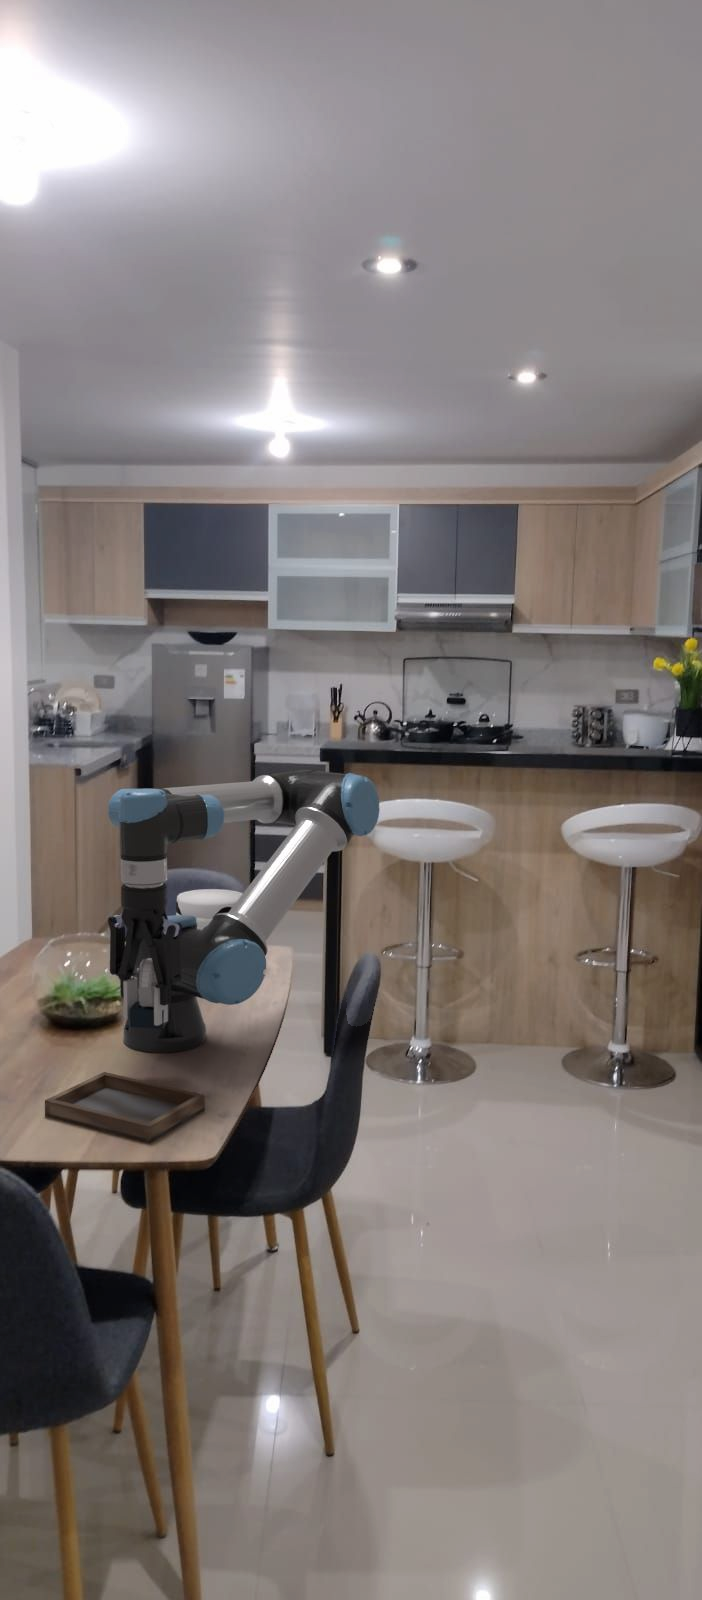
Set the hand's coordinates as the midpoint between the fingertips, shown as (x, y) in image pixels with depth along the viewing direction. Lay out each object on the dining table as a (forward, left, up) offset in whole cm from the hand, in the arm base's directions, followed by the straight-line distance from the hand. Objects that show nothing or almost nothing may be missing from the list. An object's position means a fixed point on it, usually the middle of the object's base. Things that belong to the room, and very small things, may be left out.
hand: (145, 1019), depth 187 cm
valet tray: (+13, +6, -11) cm, 18 cm away
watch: (-1, 0, -1) cm, 1 cm away
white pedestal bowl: (-60, -28, -11) cm, 67 cm away
